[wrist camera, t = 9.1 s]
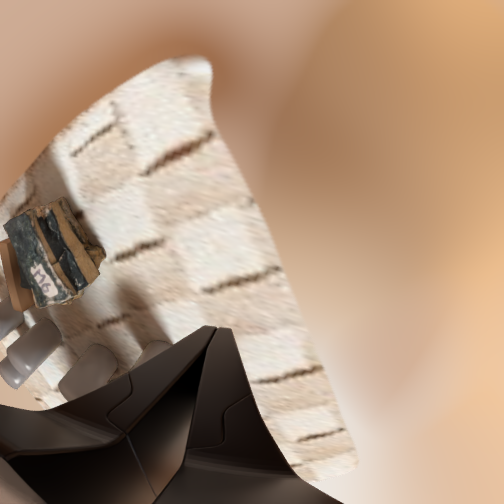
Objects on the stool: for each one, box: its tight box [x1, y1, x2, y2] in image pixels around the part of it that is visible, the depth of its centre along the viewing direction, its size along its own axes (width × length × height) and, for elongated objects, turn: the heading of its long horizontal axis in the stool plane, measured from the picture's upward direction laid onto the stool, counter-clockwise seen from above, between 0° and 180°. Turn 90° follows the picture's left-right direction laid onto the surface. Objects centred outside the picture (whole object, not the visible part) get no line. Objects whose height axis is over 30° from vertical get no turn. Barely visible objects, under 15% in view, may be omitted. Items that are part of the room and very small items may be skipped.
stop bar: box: [0, 238, 35, 313], centre depth 23 cm, size 7×2×3 cm, turn 177°
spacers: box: [0, 297, 172, 402], centre depth 24 cm, size 8×24×6 cm, turn 87°
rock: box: [3, 197, 106, 308], centre depth 21 cm, size 9×9×6 cm
